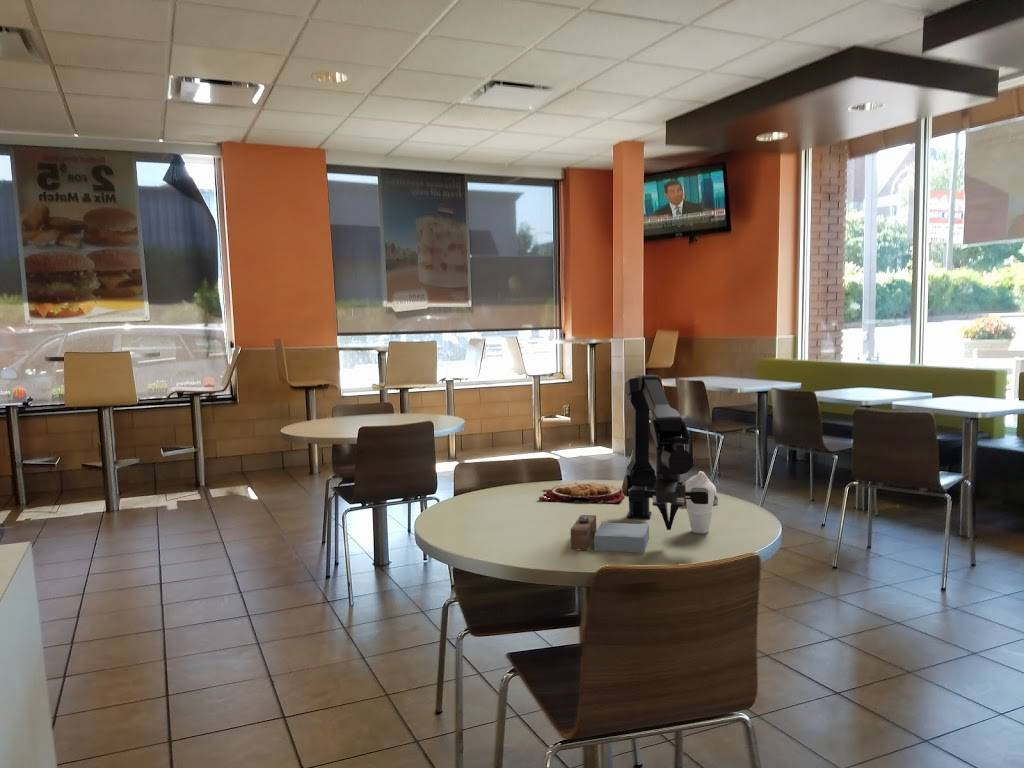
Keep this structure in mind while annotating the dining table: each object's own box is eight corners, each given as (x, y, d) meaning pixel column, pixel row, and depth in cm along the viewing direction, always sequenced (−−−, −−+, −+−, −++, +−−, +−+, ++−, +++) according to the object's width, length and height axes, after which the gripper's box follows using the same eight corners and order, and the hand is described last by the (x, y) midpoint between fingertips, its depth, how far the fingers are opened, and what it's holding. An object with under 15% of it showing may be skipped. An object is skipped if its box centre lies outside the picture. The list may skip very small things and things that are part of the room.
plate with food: (620, 507, 220) (620, 496, 220) (538, 502, 227) (538, 491, 227) (630, 491, 243) (630, 480, 243) (555, 486, 250) (555, 476, 250)
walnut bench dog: (581, 533, 190) (580, 510, 190) (596, 534, 189) (596, 510, 189) (571, 549, 177) (570, 524, 176) (587, 550, 176) (586, 525, 175)
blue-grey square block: (602, 537, 187) (601, 522, 187) (649, 539, 184) (648, 524, 184) (594, 551, 176) (594, 535, 176) (644, 554, 173) (644, 537, 172)
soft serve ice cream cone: (677, 529, 191) (676, 469, 190) (704, 525, 194) (703, 466, 193) (696, 537, 183) (695, 475, 182) (723, 533, 186) (723, 471, 185)
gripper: (625, 471, 170) (626, 537, 172) (707, 473, 165) (708, 541, 166) (630, 463, 181) (631, 524, 182) (708, 464, 176) (708, 528, 177)
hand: (668, 529), depth 177 cm, fingers closed
